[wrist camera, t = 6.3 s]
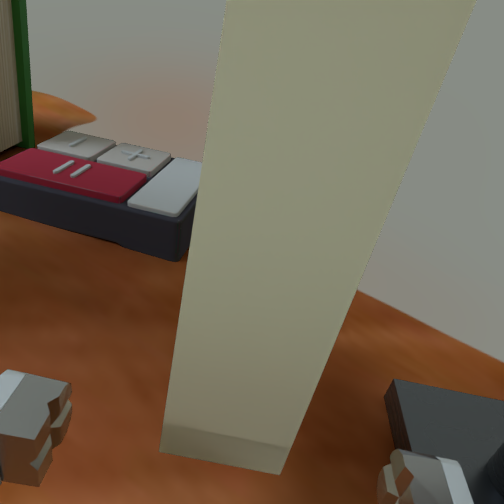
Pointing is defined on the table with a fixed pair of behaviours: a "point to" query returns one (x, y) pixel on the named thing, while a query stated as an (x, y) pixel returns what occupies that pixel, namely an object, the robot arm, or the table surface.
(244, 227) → the c-shaped bracket
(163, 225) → the calculator
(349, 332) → the table surface
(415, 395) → the hook stand
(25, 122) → the hardback book
